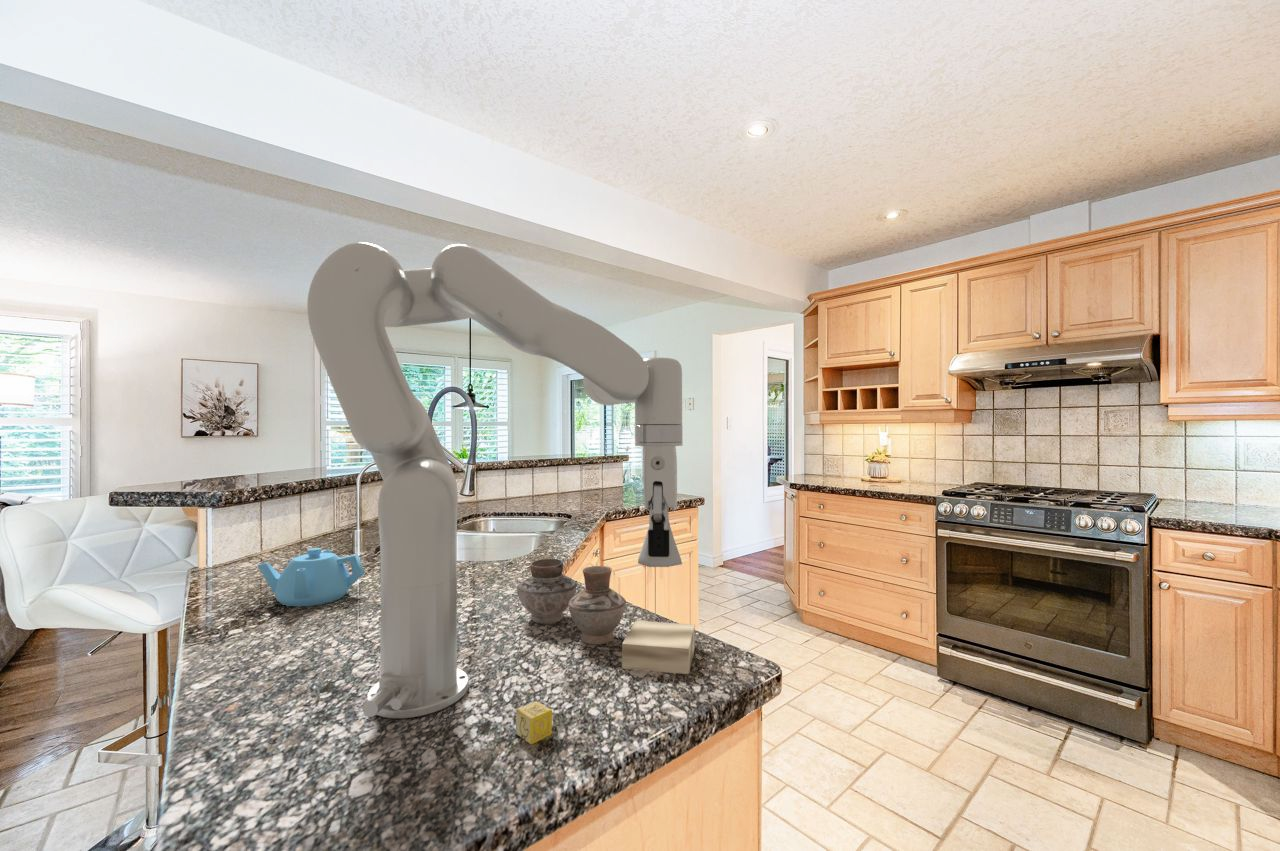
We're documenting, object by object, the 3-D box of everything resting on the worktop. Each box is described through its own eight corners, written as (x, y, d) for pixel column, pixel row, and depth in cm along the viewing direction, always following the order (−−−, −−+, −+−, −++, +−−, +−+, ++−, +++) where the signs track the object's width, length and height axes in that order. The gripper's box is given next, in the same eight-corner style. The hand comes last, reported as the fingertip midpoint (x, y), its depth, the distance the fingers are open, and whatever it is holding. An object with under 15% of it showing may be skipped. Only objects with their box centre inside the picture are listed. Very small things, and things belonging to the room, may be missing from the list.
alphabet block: (536, 724, 63) (536, 699, 63) (552, 734, 61) (552, 708, 61) (515, 735, 61) (515, 708, 61) (530, 746, 58) (530, 718, 58)
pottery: (592, 657, 82) (592, 581, 82) (505, 619, 99) (505, 556, 99) (641, 636, 90) (641, 567, 90) (552, 605, 107) (552, 547, 107)
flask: (631, 559, 84) (631, 498, 84) (672, 556, 86) (672, 496, 86) (645, 570, 77) (644, 503, 77) (690, 566, 79) (689, 501, 80)
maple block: (688, 676, 76) (688, 648, 76) (622, 670, 78) (622, 643, 78) (694, 648, 85) (694, 624, 85) (635, 644, 87) (635, 620, 87)
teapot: (294, 615, 101) (295, 560, 102) (255, 603, 109) (255, 552, 109) (368, 594, 115) (368, 545, 115) (329, 585, 122) (329, 539, 122)
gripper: (682, 436, 73) (683, 566, 73) (682, 436, 90) (682, 541, 90) (630, 437, 74) (630, 565, 74) (639, 436, 91) (639, 541, 91)
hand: (659, 550), depth 82 cm, fingers closed on flask, 4 cm apart
